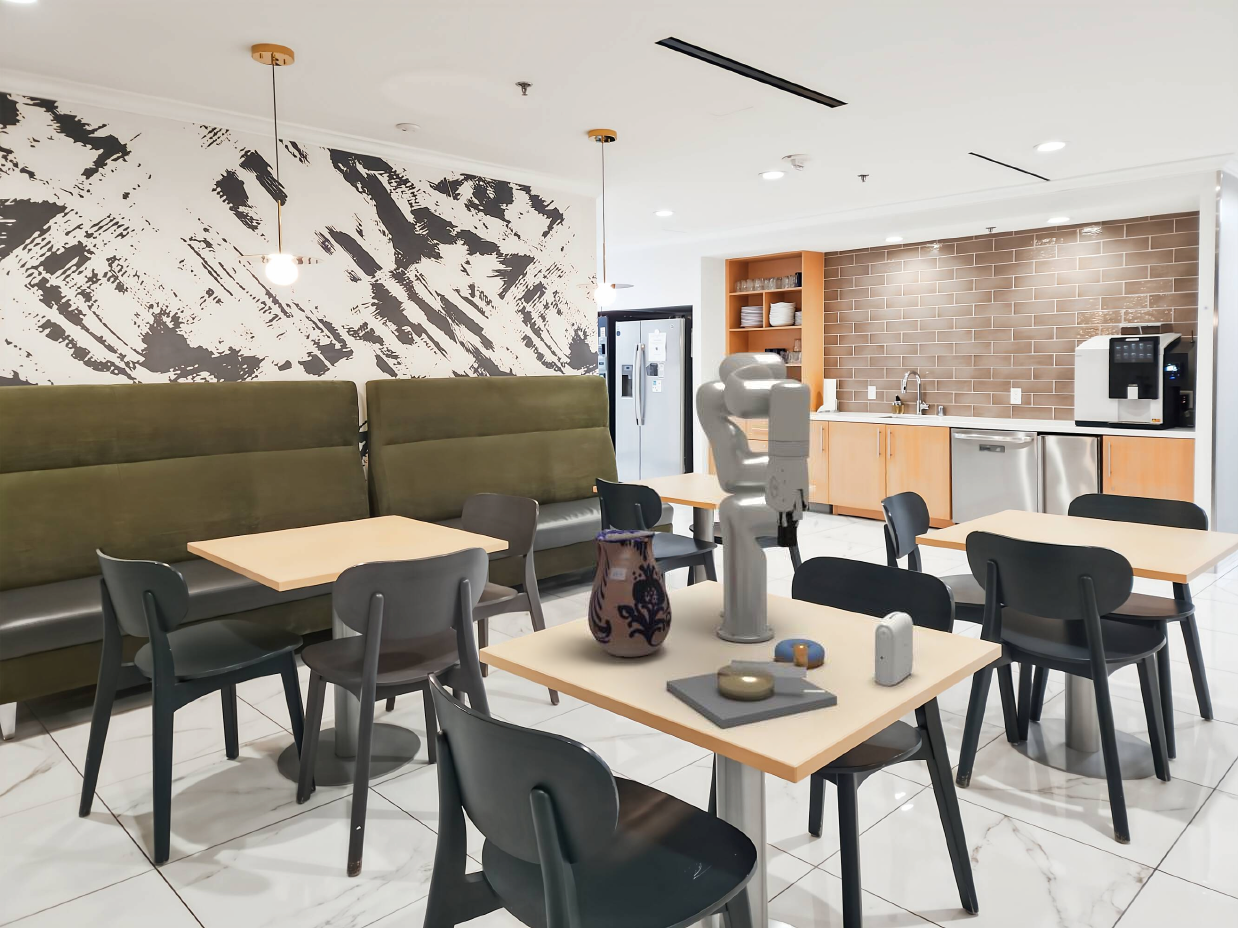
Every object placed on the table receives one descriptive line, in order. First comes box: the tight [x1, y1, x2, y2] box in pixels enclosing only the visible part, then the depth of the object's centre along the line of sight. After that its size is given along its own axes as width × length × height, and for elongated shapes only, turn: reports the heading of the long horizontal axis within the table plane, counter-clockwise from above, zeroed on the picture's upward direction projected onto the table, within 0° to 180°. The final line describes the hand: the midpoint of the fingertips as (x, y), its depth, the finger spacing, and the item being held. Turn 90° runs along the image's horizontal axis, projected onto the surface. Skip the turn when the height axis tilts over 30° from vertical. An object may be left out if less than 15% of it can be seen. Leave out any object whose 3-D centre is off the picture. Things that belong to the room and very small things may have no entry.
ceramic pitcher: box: [587, 528, 673, 658], centre depth 181 cm, size 18×21×25 cm
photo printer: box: [874, 611, 914, 687], centre depth 161 cm, size 10×4×12 cm, turn 140°
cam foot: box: [716, 643, 808, 700], centre depth 151 cm, size 16×10×8 cm, turn 78°
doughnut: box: [774, 638, 826, 669], centre depth 172 cm, size 10×10×5 cm
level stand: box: [666, 672, 838, 729], centre depth 154 cm, size 20×23×2 cm
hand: (787, 545), depth 161 cm, fingers closed
